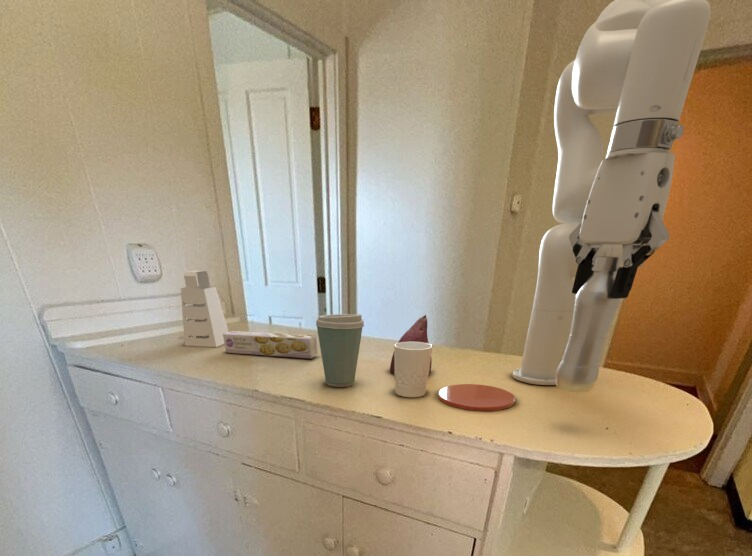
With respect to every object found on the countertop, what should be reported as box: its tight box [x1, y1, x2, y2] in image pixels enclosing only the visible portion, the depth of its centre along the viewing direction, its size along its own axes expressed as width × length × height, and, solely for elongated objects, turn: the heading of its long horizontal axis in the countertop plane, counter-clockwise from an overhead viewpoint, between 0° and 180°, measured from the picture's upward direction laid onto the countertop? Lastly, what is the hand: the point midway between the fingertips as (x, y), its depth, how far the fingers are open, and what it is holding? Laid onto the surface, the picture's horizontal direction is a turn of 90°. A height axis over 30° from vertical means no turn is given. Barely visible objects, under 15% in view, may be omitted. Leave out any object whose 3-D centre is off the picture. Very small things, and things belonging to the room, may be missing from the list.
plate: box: [437, 383, 516, 412], centre depth 91 cm, size 16×16×1 cm
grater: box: [180, 270, 230, 348], centre depth 130 cm, size 10×10×20 cm
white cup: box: [393, 342, 433, 398], centre depth 91 cm, size 8×8×10 cm
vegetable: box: [389, 314, 433, 375], centre depth 106 cm, size 10×10×15 cm
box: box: [223, 330, 319, 360], centre depth 121 cm, size 27×5×6 cm, turn 73°
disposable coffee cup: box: [315, 313, 365, 388], centre depth 95 cm, size 11×11×15 cm
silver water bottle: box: [555, 257, 623, 393], centre depth 68 cm, size 6×7×20 cm
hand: (598, 294), depth 66 cm, fingers closed on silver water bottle, 6 cm apart
